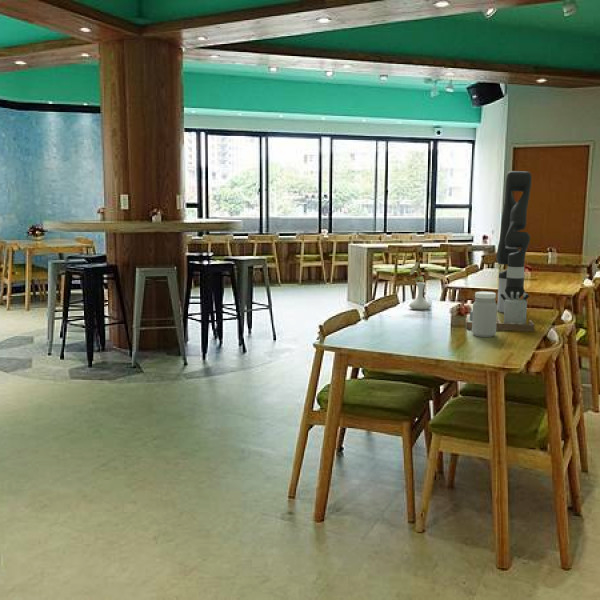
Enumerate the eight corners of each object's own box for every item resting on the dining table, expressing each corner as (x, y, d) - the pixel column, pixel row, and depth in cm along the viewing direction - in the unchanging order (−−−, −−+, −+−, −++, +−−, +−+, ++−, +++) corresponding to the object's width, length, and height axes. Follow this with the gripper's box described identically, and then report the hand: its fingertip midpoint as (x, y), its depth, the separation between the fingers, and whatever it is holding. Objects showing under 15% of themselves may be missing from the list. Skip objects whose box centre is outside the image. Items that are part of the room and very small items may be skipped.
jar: (500, 337, 268) (502, 294, 265) (478, 338, 266) (479, 294, 264) (489, 332, 278) (490, 290, 275) (467, 333, 276) (469, 291, 273)
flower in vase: (418, 306, 346) (419, 260, 343) (435, 309, 338) (437, 261, 334) (402, 309, 338) (403, 261, 334) (419, 312, 329) (420, 263, 326)
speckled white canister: (522, 325, 293) (524, 298, 291) (528, 329, 283) (530, 302, 281) (501, 325, 293) (502, 298, 291) (506, 329, 284) (507, 301, 282)
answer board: (465, 324, 296) (465, 316, 296) (530, 326, 290) (531, 319, 290) (466, 329, 284) (466, 321, 284) (534, 331, 278) (534, 324, 278)
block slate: (470, 318, 312) (471, 310, 311) (479, 319, 310) (479, 310, 310) (469, 319, 308) (470, 311, 307) (478, 320, 306) (478, 312, 306)
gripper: (529, 275, 292) (527, 313, 295) (499, 274, 295) (497, 312, 298) (532, 277, 285) (529, 316, 288) (500, 277, 288) (498, 315, 291)
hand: (513, 314), depth 293 cm, fingers closed
